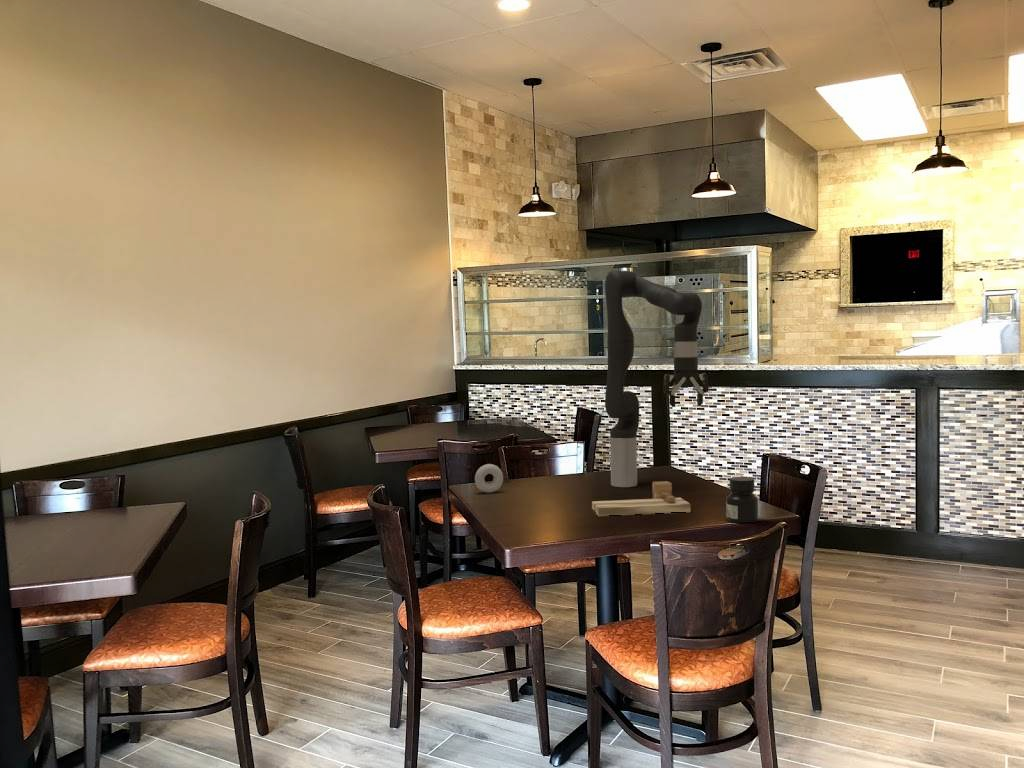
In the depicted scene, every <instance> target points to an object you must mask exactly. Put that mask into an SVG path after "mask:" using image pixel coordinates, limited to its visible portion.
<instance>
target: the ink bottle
mask: <svg viewBox="0 0 1024 768" xmlns="http://www.w3.org/2000/svg"><path fill="white" fill-rule="evenodd" d="M729 492H730V493H729V494H728V495H726V497H725V500H726V501H725V504H726V505H725V516H726V520H727V521H729V522H731V521H732V523H737V522H738V523H739V524H751V523H756V522H757V521H758V520H759V498H758V497H757V496H756V495H755V493H754V492H755V478H753V477H748V476H733V477H730V478H729ZM738 523H737V524H738Z"/></svg>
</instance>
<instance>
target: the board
mask: <svg viewBox="0 0 1024 768" xmlns="http://www.w3.org/2000/svg"><path fill="white" fill-rule="evenodd" d="M691 505H692V504H691V503H689V502H688V501H686V500H685V499H684V498H682V497H675V503H668V502H667V501H665V500H664V499H662V498H659V499H653V498H640V499H621V500H620V499H619V500H618V499H616V500H598V501H597V500H596V501H591V510H592V509H593V510H594V511H595V512H596V513H595V512H594V511H593V510H592V511H593V512H594V513H595V514H596V515H597V516H598V517H610V516H609V515H621V516H635V514H642V515H656V514H655V513H664V514H672V513H671V512H686V513H691V511H692V510H691V507H692V506H691Z"/></svg>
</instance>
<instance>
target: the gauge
mask: <svg viewBox="0 0 1024 768" xmlns="http://www.w3.org/2000/svg"><path fill="white" fill-rule="evenodd" d="M672 491H673V485H672V482H670V481H666V480H664V481H652V499H659V498H662V499H664V500H665V501H667V502H668V503H675V498H676V497H675V496H674V495H673V492H672Z"/></svg>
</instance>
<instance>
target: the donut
mask: <svg viewBox="0 0 1024 768" xmlns="http://www.w3.org/2000/svg"><path fill="white" fill-rule="evenodd" d="M489 474H490V475H492V477H493V480H492V481H490V482H486V480H485V478H486V476H487V475H489ZM503 482H504V475H503V472H502V470H501V468H499V466H498V465H495V464H492V463H487V464H484V465H482V466H480V467H479V468H478V469H477V471H476V472H475V475H474V483H475V485H476V487H477V488H478V490H479V491H481V492H483V493H485V494H486V493H487V494H490V493H494V492H497V490H499V489H500V488H501V486H502V484H503Z"/></svg>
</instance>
